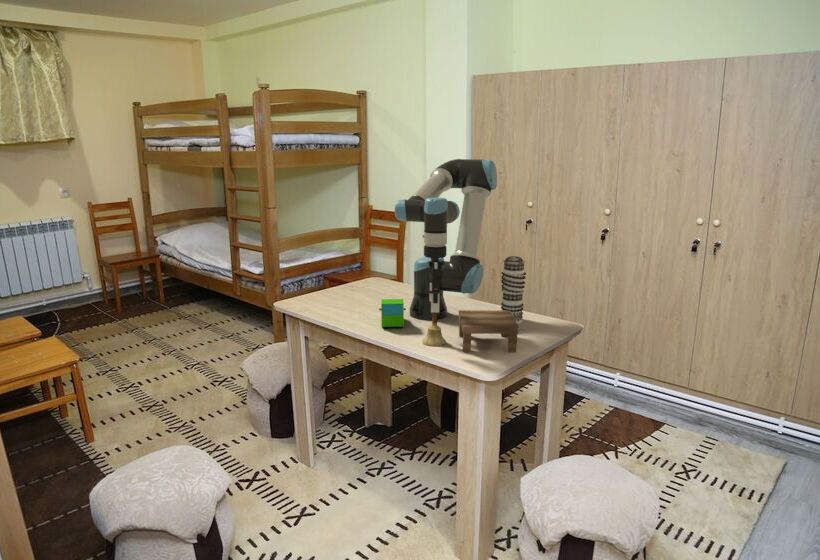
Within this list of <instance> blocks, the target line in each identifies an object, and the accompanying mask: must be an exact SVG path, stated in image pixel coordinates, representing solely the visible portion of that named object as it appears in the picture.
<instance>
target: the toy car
mask: <svg viewBox="0 0 820 560" xmlns="http://www.w3.org/2000/svg"><path fill="white" fill-rule="evenodd" d="M404 303H405V302H404V298H396V299H395V298H387V299H386V298H385V299H384V298H383V299H382V298H381V308H379V309H378V310H379V311H380V312H381V315H380V316H381V328H382V329H384V328H383V327H385V328H386V327H389V328H390V327H393V328H394V327H399V328H400V327H401V329H402V328H404V325H405V323H404V322H405V321H404V320H405V319H404V316H405V314H404V311H406V310H407V308H405V306H404Z"/></svg>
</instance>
